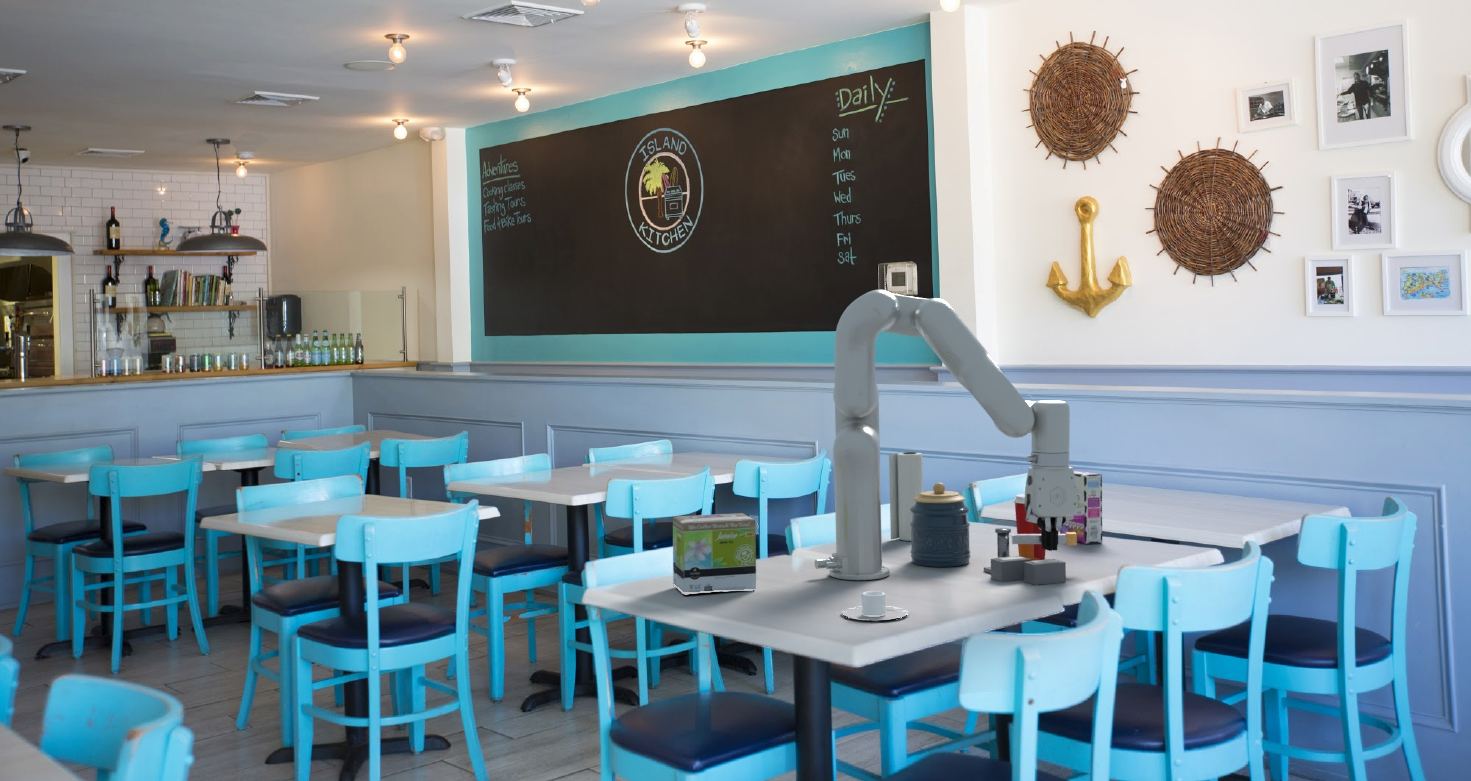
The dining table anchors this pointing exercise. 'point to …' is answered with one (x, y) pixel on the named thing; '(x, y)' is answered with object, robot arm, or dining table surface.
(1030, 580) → the block
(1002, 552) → the pivot post
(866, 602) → the candle holder
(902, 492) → the paper towel roll
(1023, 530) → the paper cup
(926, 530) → the canister
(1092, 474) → the candy bar box
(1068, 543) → the swing arm
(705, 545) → the tea box
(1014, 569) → the block
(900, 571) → the dining table surface
